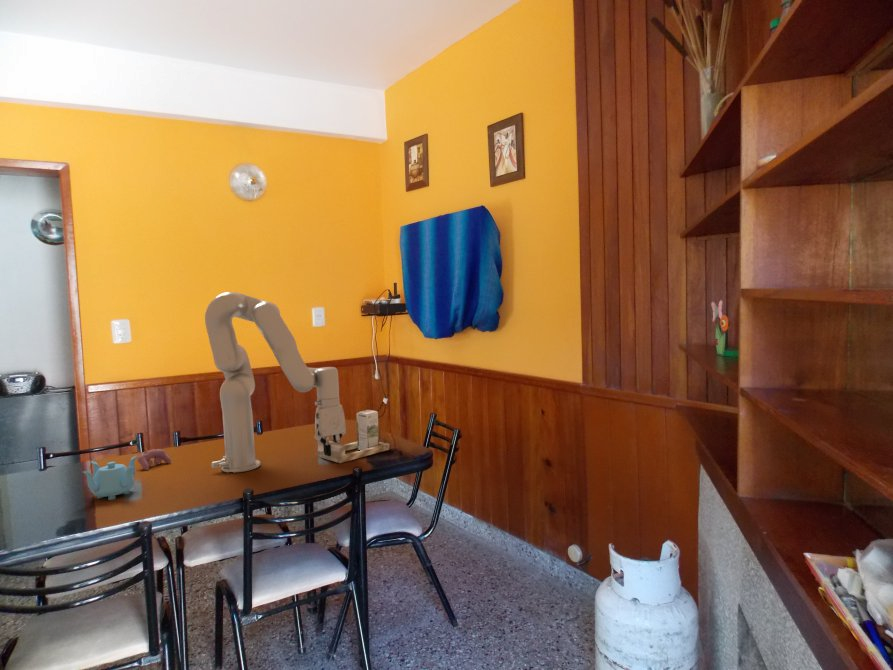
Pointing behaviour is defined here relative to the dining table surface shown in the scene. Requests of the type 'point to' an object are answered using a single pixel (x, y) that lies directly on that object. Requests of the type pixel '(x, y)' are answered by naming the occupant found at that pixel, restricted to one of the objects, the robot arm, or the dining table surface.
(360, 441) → the syrup box
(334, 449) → the frame
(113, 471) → the teapot
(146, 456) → the pink animal figurine
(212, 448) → the dining table surface
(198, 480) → the dining table surface
